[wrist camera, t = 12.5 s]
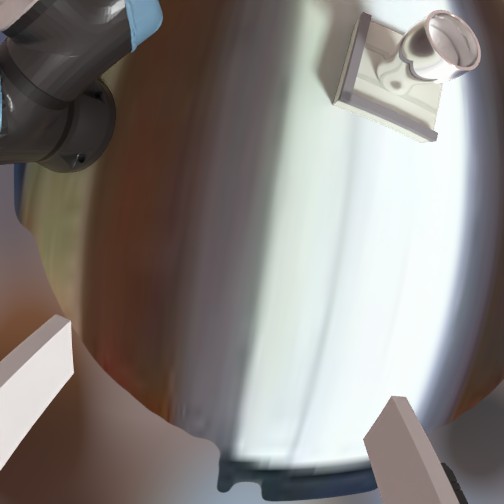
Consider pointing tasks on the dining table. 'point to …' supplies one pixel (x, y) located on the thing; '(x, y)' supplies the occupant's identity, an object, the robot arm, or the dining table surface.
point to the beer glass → (430, 54)
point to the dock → (375, 94)
